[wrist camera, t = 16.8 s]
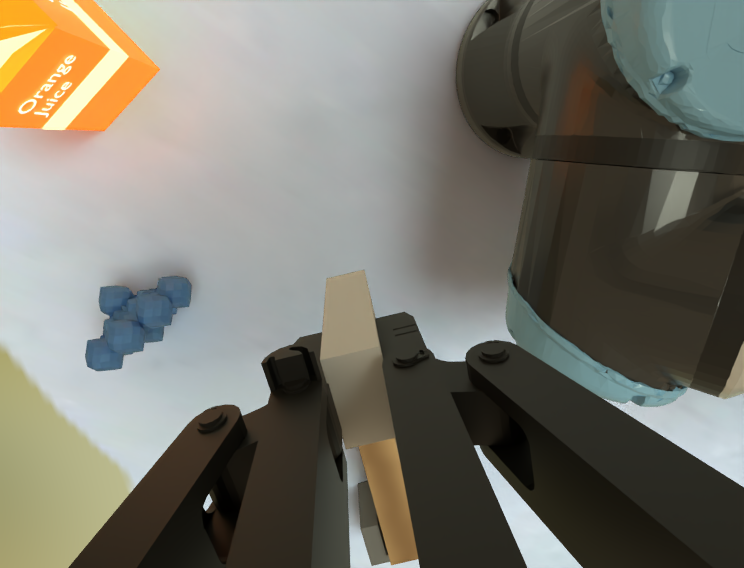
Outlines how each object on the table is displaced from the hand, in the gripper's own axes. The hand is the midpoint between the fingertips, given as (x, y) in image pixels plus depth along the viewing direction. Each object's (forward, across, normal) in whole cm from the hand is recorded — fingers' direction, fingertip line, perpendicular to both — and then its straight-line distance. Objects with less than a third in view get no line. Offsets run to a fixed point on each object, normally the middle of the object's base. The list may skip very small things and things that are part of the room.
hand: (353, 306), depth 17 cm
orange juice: (+27, -18, +17) cm, 36 cm away
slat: (+24, -2, -26) cm, 36 cm away
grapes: (+27, -20, -4) cm, 34 cm away
